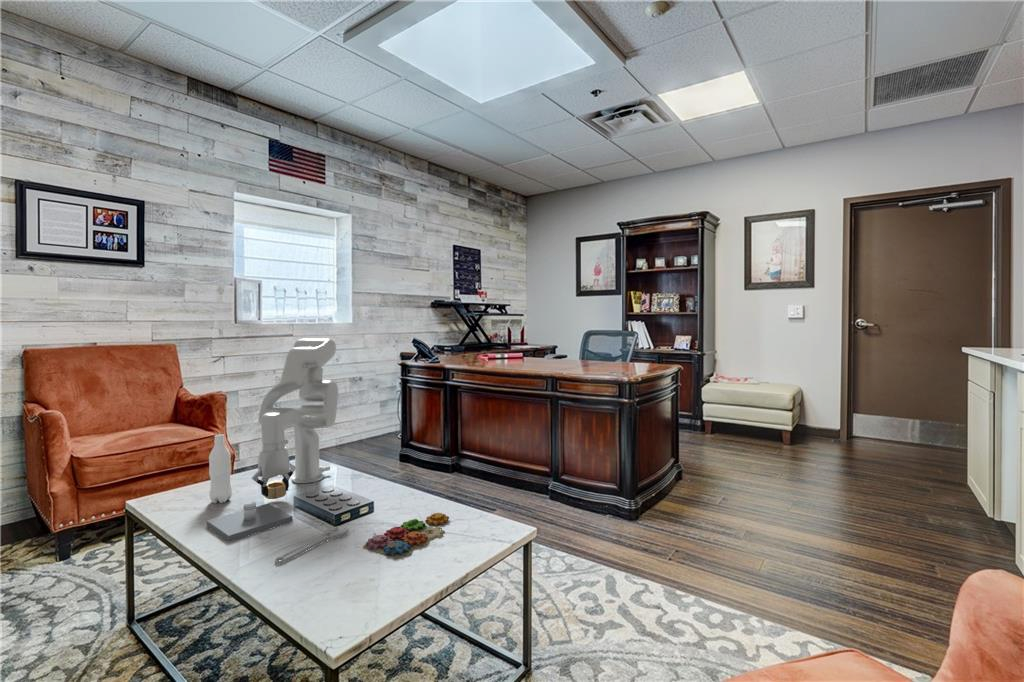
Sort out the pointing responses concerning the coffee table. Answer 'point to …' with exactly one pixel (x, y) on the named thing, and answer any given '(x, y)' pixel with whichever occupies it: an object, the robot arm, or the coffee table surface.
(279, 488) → the bronze ring
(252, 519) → the stand
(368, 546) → the gear puzzle
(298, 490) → the coffee table surface
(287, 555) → the adjustable wrench
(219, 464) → the water bottle
